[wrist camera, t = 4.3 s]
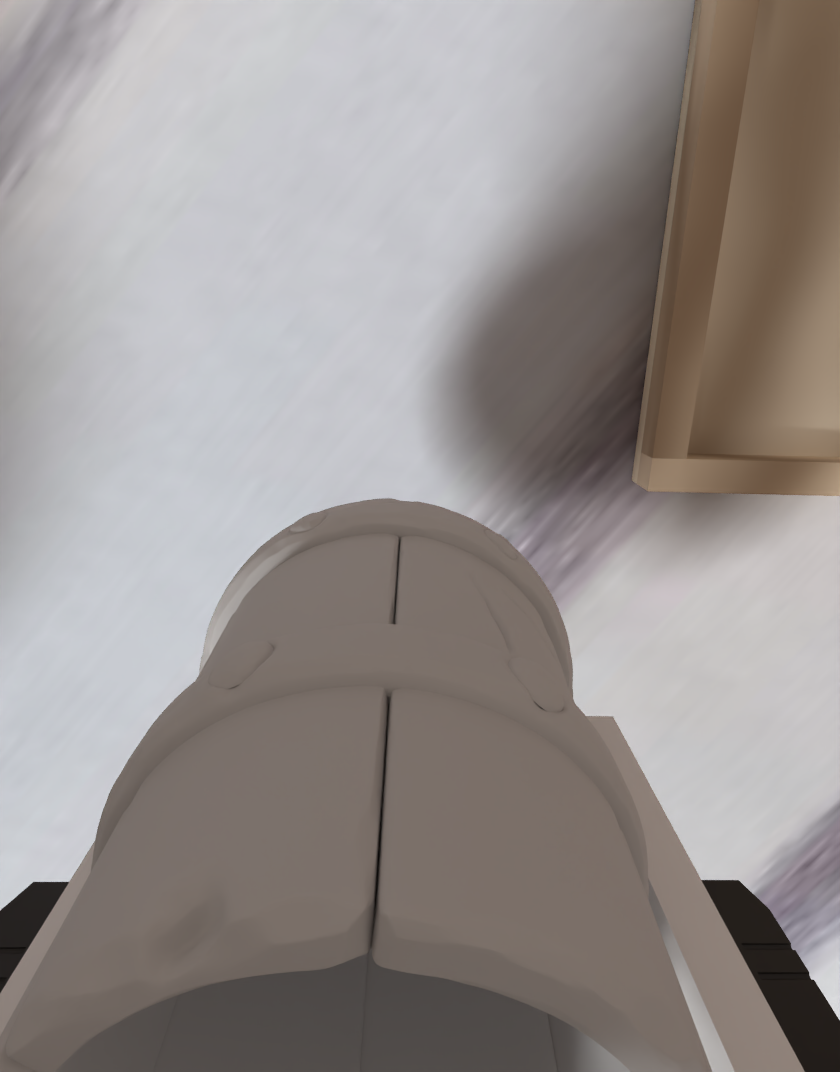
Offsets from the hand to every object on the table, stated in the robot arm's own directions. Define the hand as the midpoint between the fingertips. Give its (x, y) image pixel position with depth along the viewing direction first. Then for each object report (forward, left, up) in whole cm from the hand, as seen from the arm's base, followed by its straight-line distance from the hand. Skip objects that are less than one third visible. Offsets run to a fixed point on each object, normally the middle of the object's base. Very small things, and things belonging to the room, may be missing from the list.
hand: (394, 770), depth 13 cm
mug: (+1, 0, -3) cm, 3 cm away
